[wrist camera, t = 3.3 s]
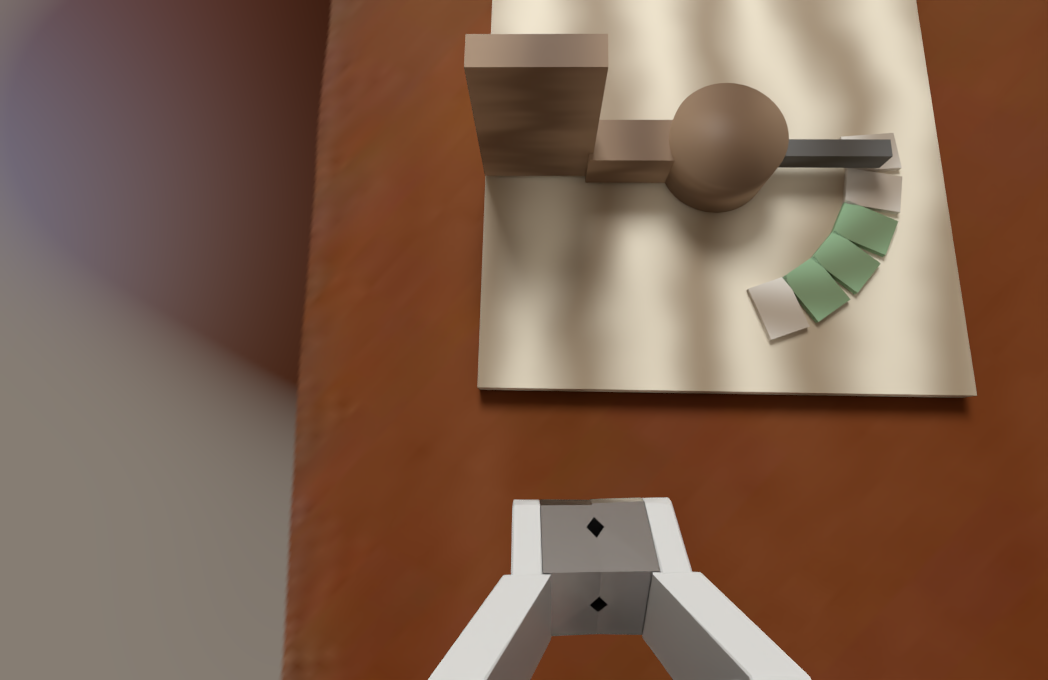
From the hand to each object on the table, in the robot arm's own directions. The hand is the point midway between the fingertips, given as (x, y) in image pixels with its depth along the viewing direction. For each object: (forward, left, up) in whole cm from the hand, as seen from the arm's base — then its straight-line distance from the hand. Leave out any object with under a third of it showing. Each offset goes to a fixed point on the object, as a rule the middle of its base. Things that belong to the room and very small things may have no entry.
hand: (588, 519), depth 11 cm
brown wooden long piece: (+14, +13, -18) cm, 26 cm away
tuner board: (+16, +12, -19) cm, 28 cm away
